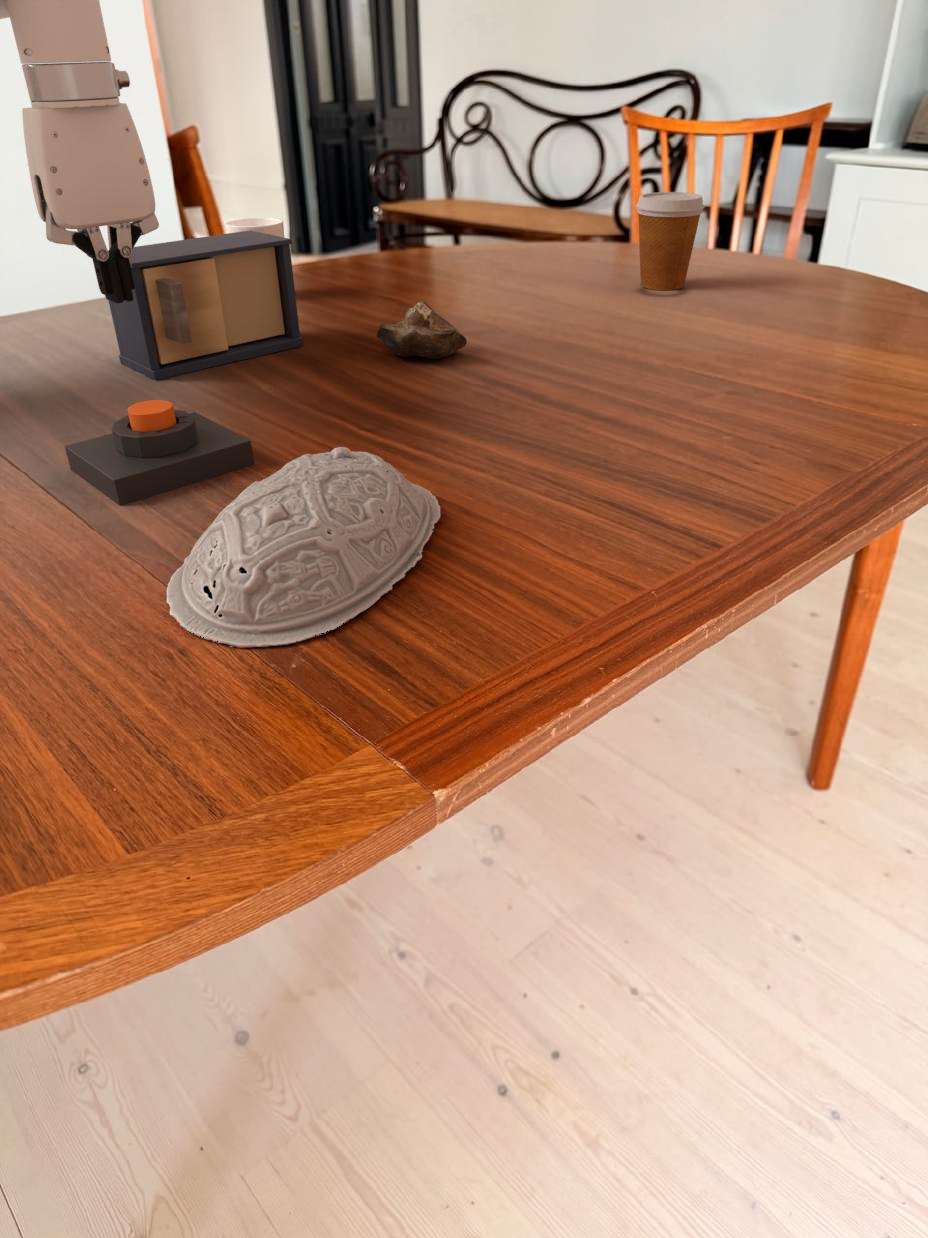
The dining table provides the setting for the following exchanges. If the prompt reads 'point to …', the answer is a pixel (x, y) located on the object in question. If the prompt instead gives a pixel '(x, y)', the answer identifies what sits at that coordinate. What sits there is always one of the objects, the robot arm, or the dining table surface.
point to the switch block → (158, 457)
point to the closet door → (185, 309)
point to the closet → (248, 293)
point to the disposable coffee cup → (667, 237)
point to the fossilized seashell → (421, 334)
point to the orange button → (151, 415)
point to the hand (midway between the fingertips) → (119, 299)
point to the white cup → (257, 226)
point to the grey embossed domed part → (303, 551)
